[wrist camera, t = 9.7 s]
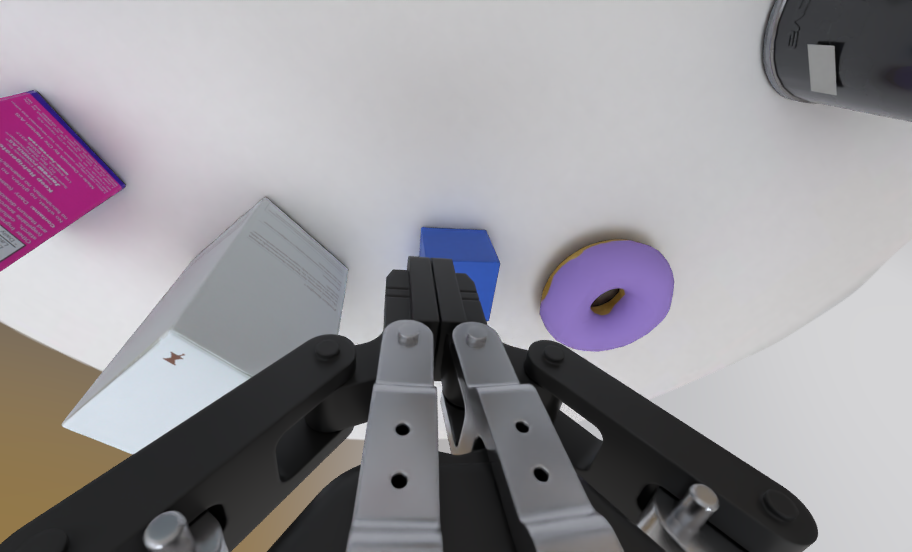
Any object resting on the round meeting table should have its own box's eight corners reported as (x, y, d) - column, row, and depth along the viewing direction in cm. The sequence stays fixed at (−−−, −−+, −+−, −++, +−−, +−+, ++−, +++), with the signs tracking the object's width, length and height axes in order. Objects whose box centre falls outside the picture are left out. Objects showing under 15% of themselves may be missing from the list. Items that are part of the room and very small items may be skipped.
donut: (657, 209, 28) (700, 254, 25) (649, 290, 34) (682, 335, 31) (522, 257, 29) (545, 307, 25) (539, 328, 35) (559, 375, 32)
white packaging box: (188, 260, 26) (46, 426, 15) (267, 192, 24) (169, 326, 14) (279, 326, 30) (216, 495, 19) (353, 271, 28) (328, 423, 17)
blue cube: (486, 229, 28) (500, 262, 24) (477, 283, 30) (489, 321, 26) (421, 226, 27) (425, 260, 23) (417, 282, 29) (420, 321, 25)
